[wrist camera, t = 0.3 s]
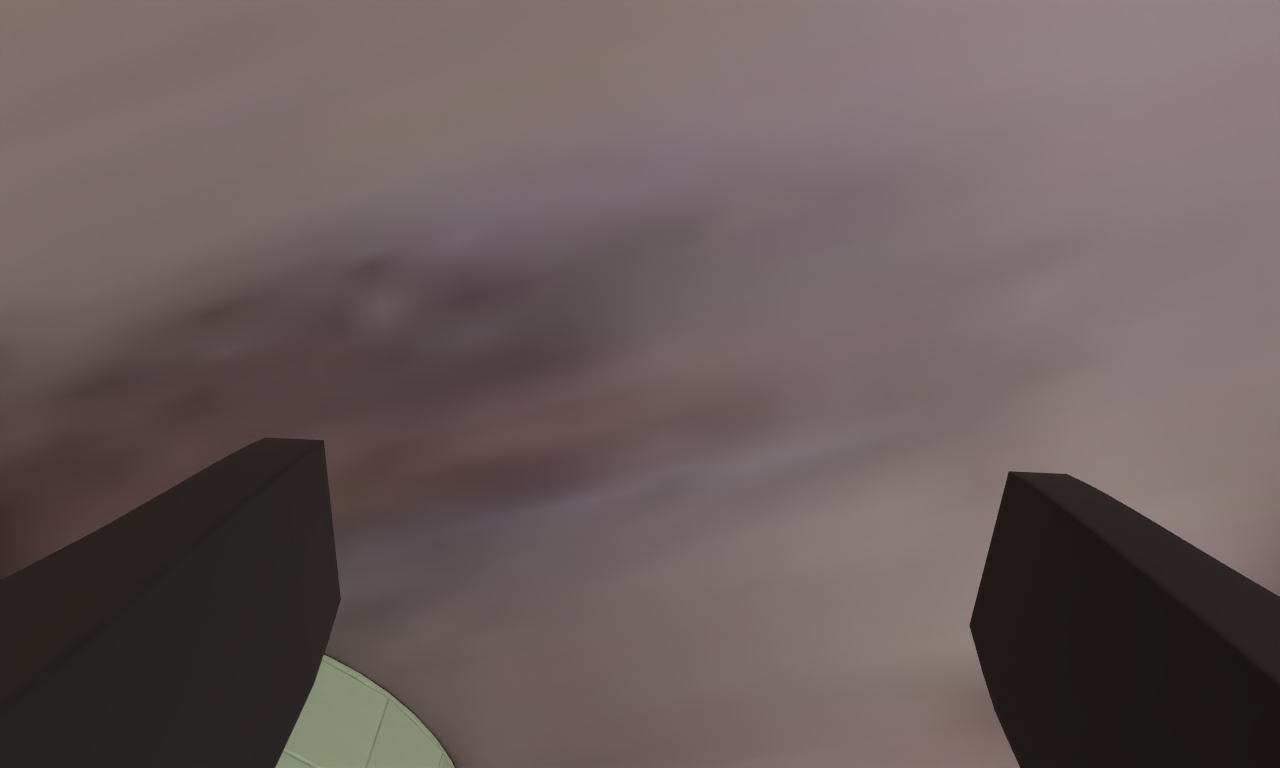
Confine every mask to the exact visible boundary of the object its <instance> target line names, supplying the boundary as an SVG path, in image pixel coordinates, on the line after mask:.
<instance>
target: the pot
mask: <svg viewBox="0 0 1280 768" xmlns="http://www.w3.org/2000/svg"><path fill="white" fill-rule="evenodd" d="M275 768H455V767H454V765H453V763H452V761H451V759H450V758H449V756H448V755H447V754H446V752H445V751H444V749H443V748H442V746H441V745H440V743H439V742H438V741H437V739H436V738H435V736H434V735H433V734H432V733H431V732H430V731H429V730H428V729H427V728H426V727H425V726H424V724H423V723H422V722H421V721H420V720H419V719H418V718H417V717H416V716H415V715H414V714H413V713H412V712H411V711H410V710H409V709H407V708H406V707H405V706H404V705H403V704H402V703H400V702H399V701H398V700H397V699H396V698H395V697H393V696H392V695H391V694H390V693H388V692H387V691H385V690H384V689H383V688H381V687H380V686H378V685H377V684H375V683H374V682H372V681H371V680H369V679H368V678H366V677H365V676H363V675H362V674H360V673H358V672H357V671H355V670H353V669H351V668H349V667H347V666H345V665H343V664H342V663H340V662H338V661H336V660H334V659H332V658H330V657H328V656H326V655H323V658H322V662H321V665H320V668H319V671H318V674H317V677H316V680H315V683H314V685H313V687H312V690H311V692H310V694H309V696H308V698H307V701H306V703H305V705H304V707H303V709H302V712H301V714H300V716H299V718H298V720H297V722H296V725H295V727H294V729H293V731H292V733H291V735H290V737H289V740H288V742H287V744H286V746H285V748H284V750H283V753H282V755H281V757H280V759H279V761H278V763H277V765H276V767H275Z"/></svg>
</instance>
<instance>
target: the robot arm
mask: <svg viewBox="0 0 1280 768" xmlns="http://www.w3.org/2000/svg"><path fill="white" fill-rule="evenodd" d="M340 600H341V598H340V589H339V579H338V570H337V561H336V552H335V542H334V533H333V524H332V514H331V505H330V496H329V486H328V477H327V468H326V458H325V449H324V440H303V439H280V438H263V439H261V440H259V441H257V442H254V443H252V444H250V445H248V446H246V447H244V448H242V449H240V450H238V451H236V452H234V453H233V454H231V455H229V456H227V457H225V458H223V459H222V460H220V461H218V462H216V463H214V464H213V465H211V466H209V467H207V468H206V469H204V470H202V471H200V472H199V473H197V474H195V475H193V476H192V477H190V478H188V479H187V480H185V481H183V482H181V483H180V484H178V485H176V486H174V487H173V488H171V489H169V490H167V491H166V492H164V493H162V494H160V495H159V496H157V497H155V498H153V499H152V500H150V501H148V502H146V503H145V504H143V505H141V506H139V507H138V508H136V509H134V510H132V511H131V512H129V513H127V514H125V515H124V516H122V517H120V518H118V519H116V520H115V521H113V522H111V523H109V524H108V525H106V526H104V527H102V528H101V529H99V530H97V531H95V532H93V533H91V534H89V535H87V536H85V537H84V538H82V539H80V540H78V541H76V542H74V543H72V544H70V545H68V546H66V547H64V548H62V549H61V550H59V551H57V552H55V553H53V554H51V555H49V556H47V557H45V558H43V559H41V560H39V561H38V562H36V563H34V564H32V565H30V566H28V567H26V568H24V569H22V570H20V571H18V572H17V573H15V574H13V575H11V576H9V577H7V578H5V579H3V580H1V581H0V768H275V767H276V765H277V763H278V761H279V759H280V757H281V755H282V753H283V750H284V748H285V746H286V744H287V742H288V740H289V737H290V735H291V733H292V731H293V729H294V727H295V725H296V722H297V720H298V718H299V716H300V714H301V712H302V709H303V707H304V705H305V703H306V701H307V698H308V696H309V694H310V692H311V690H312V687H313V685H314V683H315V680H316V677H317V674H318V671H319V668H320V665H321V662H322V658H323V655H324V652H325V649H326V646H327V643H328V640H329V636H330V633H331V630H332V626H333V623H334V620H335V616H336V613H337V610H338V606H339V603H340ZM970 629H971V632H972V636H973V640H974V643H975V647H976V650H977V654H978V657H979V661H980V665H981V668H982V672H983V675H984V678H985V681H986V684H987V687H988V691H989V694H990V697H991V700H992V703H993V706H994V709H995V712H996V714H997V717H998V719H999V721H1000V723H1001V726H1002V728H1003V730H1004V733H1005V735H1006V737H1007V739H1008V741H1009V744H1010V746H1011V748H1012V750H1013V753H1014V755H1015V757H1016V759H1017V761H1018V764H1019V766H1020V768H1280V597H1279V596H1277V595H1276V594H1274V593H1272V592H1270V591H1269V590H1267V589H1265V588H1264V587H1262V586H1260V585H1258V584H1257V583H1255V582H1253V581H1252V580H1250V579H1248V578H1246V577H1245V576H1243V575H1241V574H1240V573H1238V572H1236V571H1235V570H1233V569H1231V568H1230V567H1228V566H1226V565H1225V564H1223V563H1221V562H1220V561H1218V560H1216V559H1215V558H1213V557H1211V556H1210V555H1208V554H1206V553H1205V552H1203V551H1201V550H1200V549H1198V548H1196V547H1195V546H1193V545H1191V544H1190V543H1188V542H1186V541H1185V540H1183V539H1181V538H1180V537H1178V536H1176V535H1175V534H1173V533H1171V532H1170V531H1168V530H1166V529H1165V528H1163V527H1161V526H1160V525H1158V524H1156V523H1155V522H1153V521H1152V520H1150V519H1148V518H1147V517H1145V516H1143V515H1142V514H1140V513H1138V512H1136V511H1135V510H1133V509H1131V508H1130V507H1128V506H1126V505H1124V504H1123V503H1121V502H1119V501H1118V500H1116V499H1114V498H1112V497H1111V496H1109V495H1107V494H1105V493H1103V492H1102V491H1100V490H1098V489H1096V488H1094V487H1092V486H1090V485H1088V484H1086V483H1085V482H1082V481H1080V480H1078V479H1076V478H1074V477H1072V476H1070V475H1067V474H1053V473H1031V472H1009V473H1008V477H1007V481H1006V485H1005V489H1004V493H1003V496H1002V500H1001V504H1000V508H999V512H998V516H997V520H996V524H995V528H994V532H993V536H992V540H991V543H990V547H989V551H988V555H987V559H986V563H985V567H984V571H983V575H982V579H981V583H980V587H979V590H978V594H977V598H976V602H975V606H974V610H973V614H972V618H971V622H970Z"/></svg>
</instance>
